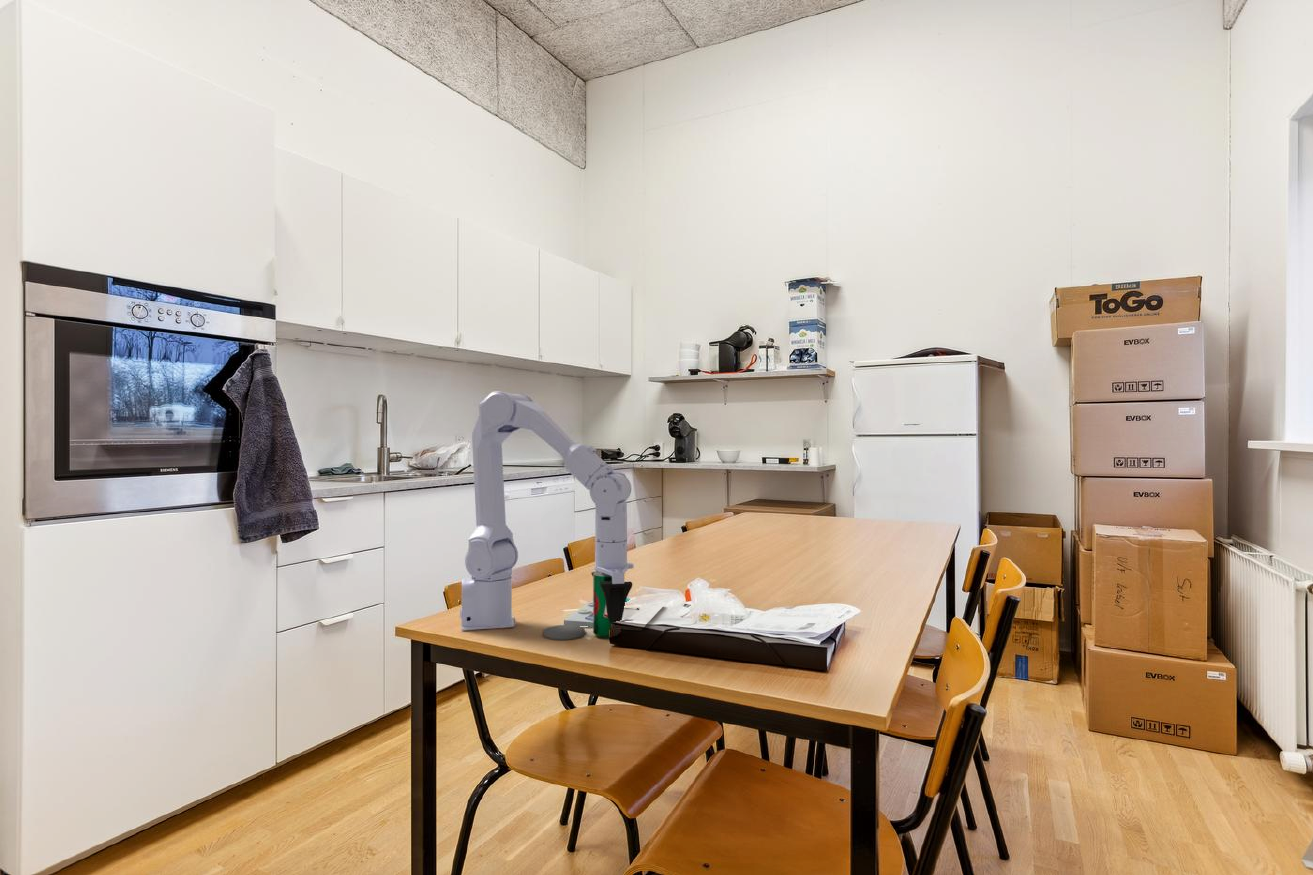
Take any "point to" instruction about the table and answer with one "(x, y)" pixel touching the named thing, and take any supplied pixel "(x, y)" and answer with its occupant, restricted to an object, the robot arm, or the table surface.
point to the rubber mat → (563, 632)
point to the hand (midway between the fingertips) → (611, 615)
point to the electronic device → (583, 616)
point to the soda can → (600, 607)
